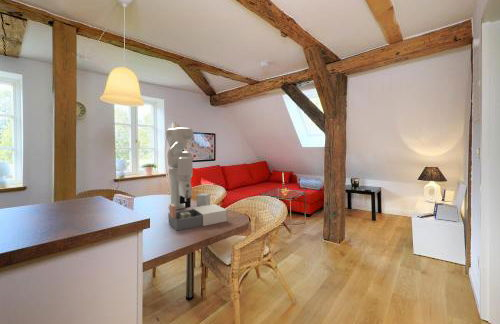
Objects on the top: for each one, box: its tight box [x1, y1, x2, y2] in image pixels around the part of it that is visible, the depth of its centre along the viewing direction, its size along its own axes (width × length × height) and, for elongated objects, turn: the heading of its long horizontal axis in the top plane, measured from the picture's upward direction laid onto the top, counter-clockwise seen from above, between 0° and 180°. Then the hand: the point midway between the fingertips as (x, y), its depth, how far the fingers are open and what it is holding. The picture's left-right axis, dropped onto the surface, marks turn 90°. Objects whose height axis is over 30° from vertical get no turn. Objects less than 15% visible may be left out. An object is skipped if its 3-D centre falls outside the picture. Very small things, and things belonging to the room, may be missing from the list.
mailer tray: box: [168, 203, 203, 231], centre depth 148 cm, size 16×19×13 cm
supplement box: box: [196, 192, 211, 207], centre depth 174 cm, size 7×7×13 cm
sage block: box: [180, 212, 191, 219], centre depth 148 cm, size 5×5×6 cm
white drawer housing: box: [191, 203, 228, 227], centre depth 157 cm, size 18×16×7 cm
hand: (185, 205), depth 148 cm, fingers open, 9 cm apart
